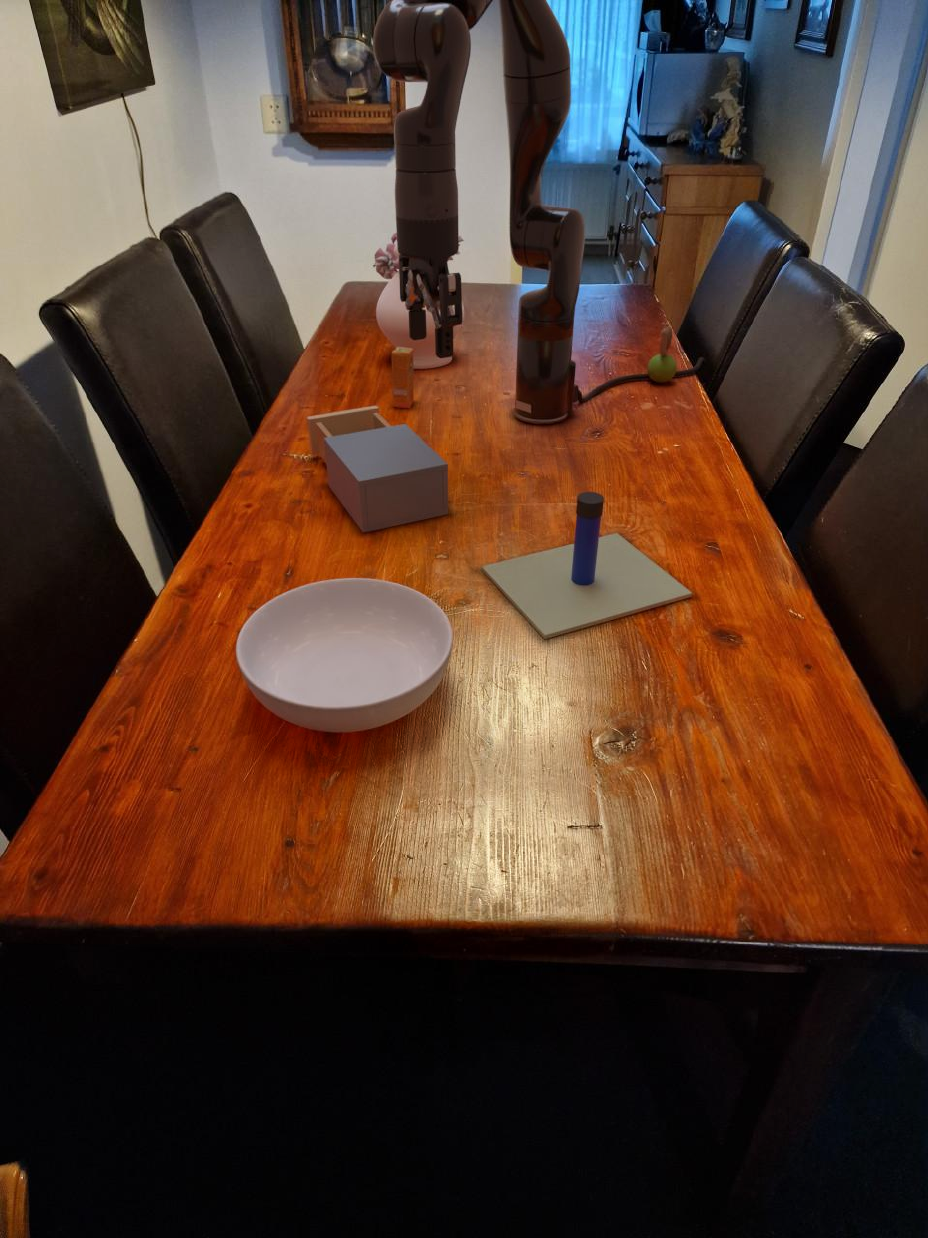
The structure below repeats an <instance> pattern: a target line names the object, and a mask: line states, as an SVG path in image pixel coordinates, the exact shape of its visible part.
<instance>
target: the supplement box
mask: <svg viewBox="0 0 928 1238" xmlns="http://www.w3.org/2000/svg"><path fill="white" fill-rule="evenodd" d="M391 391H392V392H391V393H392V394H391V395H392V396H391V397H392V399H391V400H392V407H393V408H400V409H410V408H411V406H412V405H413V404H414V368H413V349H411V348H406V347H396V348H395V349H393V350H392V351H391Z"/></svg>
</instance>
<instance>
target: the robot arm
mask: <svg viewBox="0 0 928 1238" xmlns="http://www.w3.org/2000/svg"><path fill="white" fill-rule="evenodd" d="M493 1H494V0H390V1H389V2H388V3H387V4H386V5H385V6H384V8H383V9H382V11H381V12H380V14H379V16H378V18H377V21H376V24H375V27H374V29H373V38H372V49H373V55H374V59H375V63H376V64H377V66H378V68H379V70H380V71H381V72H382V74H384V75H385V76H386V77H387V78H388V79H390V80H393V81H395V82H400V83H427V84H426V89H425V93H424V96H423V99H422V102H421V104H419V105H418V106H413V107H409V108H406V109H403V110H401V111H400V112H398V113H397V114H396V116H395V118H394V122H393V140H394V161H395V180H394V206H395V207H394V209H395V226H396V227H395V228H396V229H395V230H396V233H397V240H396V243H397V249H398V252H399V254H400V255H399V269H398V270H399V278H400V299H401V301H402V302H405V306H406V309H407V310H409V334H410V338H411V339H412V340H421V339H425V338H426V336H427V333H426V310H424V309H422V308H425V306H426V308H427V310H428V311H429V312H431V313H432V316H433V320H434V323H435V327H436V328H435V350H436V356H437V357H439V358H446V357H451V356H452V357H453V355H454V353H455V352H454V350H455V349H454V339H453V327H454V326H456V325H461V324H462V302H463V297H462V296H463V295H462V294H463V291H462V275H461V273H460V272H452V273H450V269H449V264H448V262H447V260H448V258H449V257H450V256H451V257H453V256H455V255H457V254H456V253H457V252H458V251H459V247H460V246H459V244H460V242H459V239H458V237H459V188H458V181H457V179H458V178H457V169H456V165H457V164H456V163H457V162H456V156H457V155H456V128H457V123H458V122H457V121H458V116H459V112H460V107H461V101H462V96H463V91H464V86H465V83H466V78H467V74H468V69H469V65H470V59H471V51H472V40H471V30H473V28H474V27H476V25H477V24H478V23H479V22H480V21H481V19H482V18H483V16H484V14H485V13H486V11H487V10H488V8H489V7H490V5H491V4H492V2H493ZM498 5H499V17H500V33H501V47H502V48H501V49H502V50H501V51H502V73H503V75H502V76H503V91H504V103H505V111H506V112H505V114H506V122H507V136H508V137H507V138H508V139H507V140H508V157H509V219H508V220H509V223H508V224H509V225H508V226H509V227H508V228H509V229H508V231H509V245H510V246H509V247H510V251H511V255H512V258H513V260H514V262H515V264H516V265H518V266H519V267H522V268H525V269H530V270H537V271H545V272H548V273H549V274H548V278H547V279H548V280H547V284H546V285H545V286H544V287H542V288H538V289H534V290H529V291H527V292H525V293H523V294H522V295H521V296H520V297H519V300H518V310H517V311H518V312H517V313H518V314H517V340H516V341H517V342H516V368H515V369H516V370H515V398H514V399H515V400H514V408H513V415H514V417H515V418H516V419H518V421H521V422H523V423H528V424H531V425H552V424H553V425H554V424H558V423H562V422H564V421H565V420H566V419H568V418H570V417H572V416H573V405H574V404H575V403H578V402H579V403H581V404H583V403H587V402H588V401H590V400H591V399H593V398H594V397H595V396H596V395H597V394H598V393H599V392H601V391H603V390H605V389H607V388H609V387H611V386H613V385H616V384H619V383H624V382H629V381H635V380H636V381H637V380H648V379H649V380H650V379H651V378H650V377H649V375H648V373H638V374H636V373H635V374H628V375H624V376H619V377H615V378H613V379H610V380H608V381H605V382H604V383H602V384H600V385H598V386H597V387H595V388H593V389H592V390H591V391H590V392H589V393H588V394H587V395H586V396H584V397H583V393H582V391H581V390H580V389H579V385H578V384H575V381H576V368H577V363H576V361H574V360H573V359H572V356H573V355H572V354H573V344H574V343H573V341H574V328H575V314H576V305H577V302H578V298H579V293H580V285H581V275H582V266H583V260H584V259H583V258H584V252H585V243H586V224H585V219H584V216H583V213H582V212H581V211H580V210H578V209H576V208H573V207H566V206H557V205H547V204H543V201H542V180H543V172H544V168H545V165H546V162H547V160H548V158H549V155H550V153H551V151H552V149H553V147H554V146H555V143H556V142H557V139H558V137H559V136H560V133H561V132H562V130H563V127H564V125H565V123H566V122H567V121H566V120H567V118H568V116H569V113H570V109H571V102H572V101H571V100H572V89H571V88H572V84H571V82H572V81H571V77H572V76H571V53H570V52H571V51H570V48H569V44H568V41H567V38H566V36H565V34H564V31H563V29H562V27H561V25H560V22H559V20H558V19H557V17H556V15H555V14H554V11H553V10H552V8H551V6H550V4H549V2H548V0H498ZM406 285H407V286H406ZM453 305H454V307H455V314H454V311H453V307H452V306H453ZM439 310H440V314H439ZM706 364H707V362H706V359H705V357H703V356H700V357H698V359H697V362H696V364H695V365H694V366H693V367H691V368H688V369H683V370H676V373H675V375H674V376H673V377H681V376H687V375H691V374H694V373H696V372H698V370H699V369H700V368H701V366H702V365H706Z"/></svg>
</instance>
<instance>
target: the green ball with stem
mask: <svg viewBox="0 0 928 1238" xmlns="http://www.w3.org/2000/svg"><path fill="white" fill-rule="evenodd" d="M661 326H662V327H664V328H662V329H661V331H660V340H659V353H657V354H655V355H654V356H652V357H651V359H650V360H649V362H648V363H647V367H646V369H647V374H648V375H649V377H650V379H651V380H652V381H653V382H655V383H658V384H664V383H668V382H669V381H670V380H672V379H673V378H674V377H675V376H674V375H675V373H676V371H677V369H678V368H677V366H678V365H677V362H676V360H675V358H674V357H673V356H672V355H670V354H669V349H670V347H671V344H672V340H673V328H672V327H671V326H669V323H665V322H662V323H661Z"/></svg>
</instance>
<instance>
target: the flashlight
mask: <svg viewBox="0 0 928 1238" xmlns="http://www.w3.org/2000/svg"><path fill="white" fill-rule="evenodd" d="M604 502H605V497H604V496H603V494H601V493H599V492H595V491H584V492H581V493H578V495H577V498H576V508H575V514H576V519H575V531H574V542H573V544H574V552H573V563H572V574H571V580H572V581H573V582H574V583H575V584H578V585H590V584H592V583H593V582H594V579H595V570H596V560H597V551H598V542H599V537H600V531H601V524H602V516H603V513H604V511H603V510H604Z"/></svg>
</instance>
